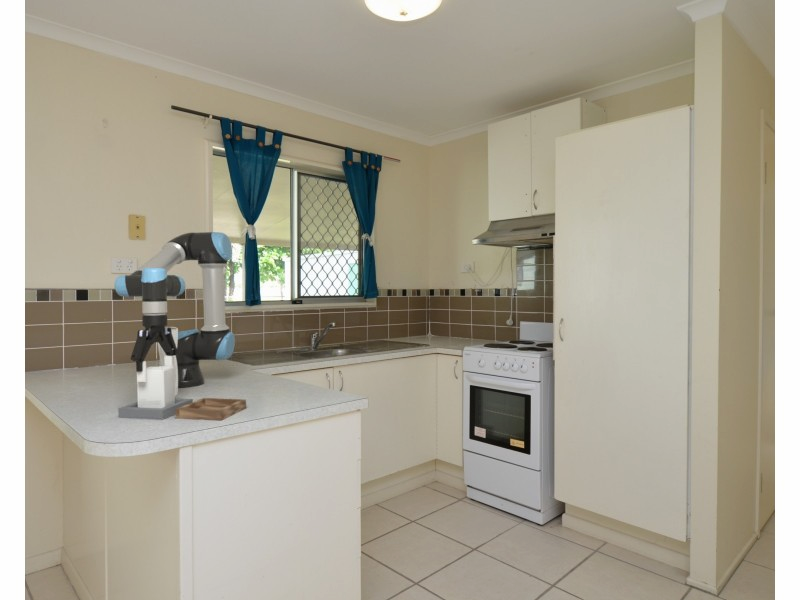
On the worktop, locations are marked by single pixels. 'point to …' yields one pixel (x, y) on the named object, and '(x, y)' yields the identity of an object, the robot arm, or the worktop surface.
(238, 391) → the worktop surface
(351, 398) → the worktop surface
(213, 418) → the tray
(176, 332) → the skyscraper
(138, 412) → the gray square tray
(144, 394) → the supplement box
